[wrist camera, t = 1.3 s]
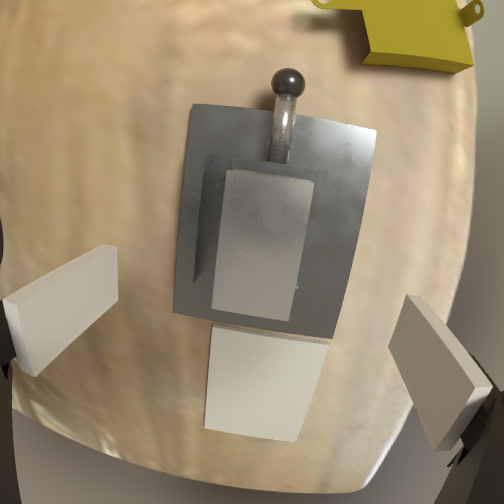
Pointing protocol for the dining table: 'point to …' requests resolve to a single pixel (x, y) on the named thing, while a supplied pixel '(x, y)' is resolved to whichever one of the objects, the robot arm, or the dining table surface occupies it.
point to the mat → (261, 382)
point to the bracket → (415, 32)
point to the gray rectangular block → (260, 243)
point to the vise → (284, 164)
